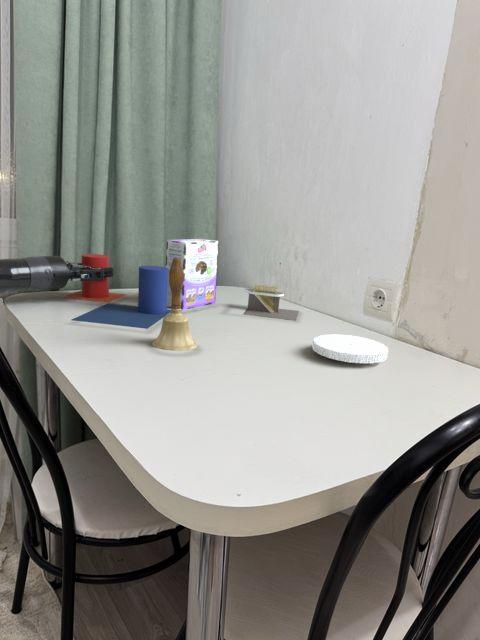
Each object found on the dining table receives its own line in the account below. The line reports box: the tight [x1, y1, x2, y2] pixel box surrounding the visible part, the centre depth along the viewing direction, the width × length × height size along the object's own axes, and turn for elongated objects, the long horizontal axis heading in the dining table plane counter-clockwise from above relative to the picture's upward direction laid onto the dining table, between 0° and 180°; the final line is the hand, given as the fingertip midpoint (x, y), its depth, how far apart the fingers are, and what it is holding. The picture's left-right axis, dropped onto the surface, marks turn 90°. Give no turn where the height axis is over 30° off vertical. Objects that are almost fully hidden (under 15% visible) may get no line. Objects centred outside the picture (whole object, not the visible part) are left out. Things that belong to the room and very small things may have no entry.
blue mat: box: [71, 302, 171, 330], centre depth 111 cm, size 16×19×1 cm
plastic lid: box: [311, 333, 389, 364], centre depth 95 cm, size 14×14×2 cm
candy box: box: [165, 238, 219, 311], centre depth 125 cm, size 14×6×16 cm, turn 149°
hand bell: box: [151, 258, 199, 352], centre depth 90 cm, size 8×8×16 cm
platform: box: [242, 283, 300, 321], centre depth 128 cm, size 12×18×7 cm, turn 82°
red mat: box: [60, 289, 128, 304], centre depth 127 cm, size 12×12×1 cm
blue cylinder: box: [137, 265, 168, 314], centre depth 115 cm, size 6×6×10 cm
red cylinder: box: [80, 253, 110, 298], centre depth 126 cm, size 6×6×10 cm
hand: (101, 269), depth 127 cm, fingers open, 8 cm apart
